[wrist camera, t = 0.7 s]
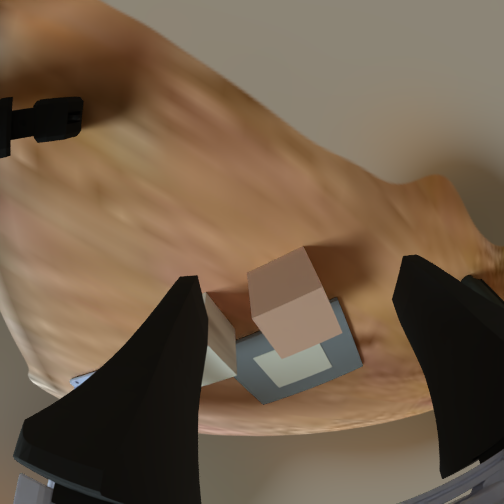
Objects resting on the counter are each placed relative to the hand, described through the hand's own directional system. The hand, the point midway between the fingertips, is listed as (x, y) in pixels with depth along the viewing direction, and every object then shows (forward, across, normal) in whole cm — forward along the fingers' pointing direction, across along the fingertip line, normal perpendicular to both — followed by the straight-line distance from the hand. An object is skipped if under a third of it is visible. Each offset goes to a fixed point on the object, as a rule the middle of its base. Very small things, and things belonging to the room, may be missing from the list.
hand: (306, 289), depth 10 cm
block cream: (+9, +7, +10) cm, 15 cm away
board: (+9, -1, +17) cm, 19 cm away
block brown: (+10, 0, +7) cm, 12 cm away
